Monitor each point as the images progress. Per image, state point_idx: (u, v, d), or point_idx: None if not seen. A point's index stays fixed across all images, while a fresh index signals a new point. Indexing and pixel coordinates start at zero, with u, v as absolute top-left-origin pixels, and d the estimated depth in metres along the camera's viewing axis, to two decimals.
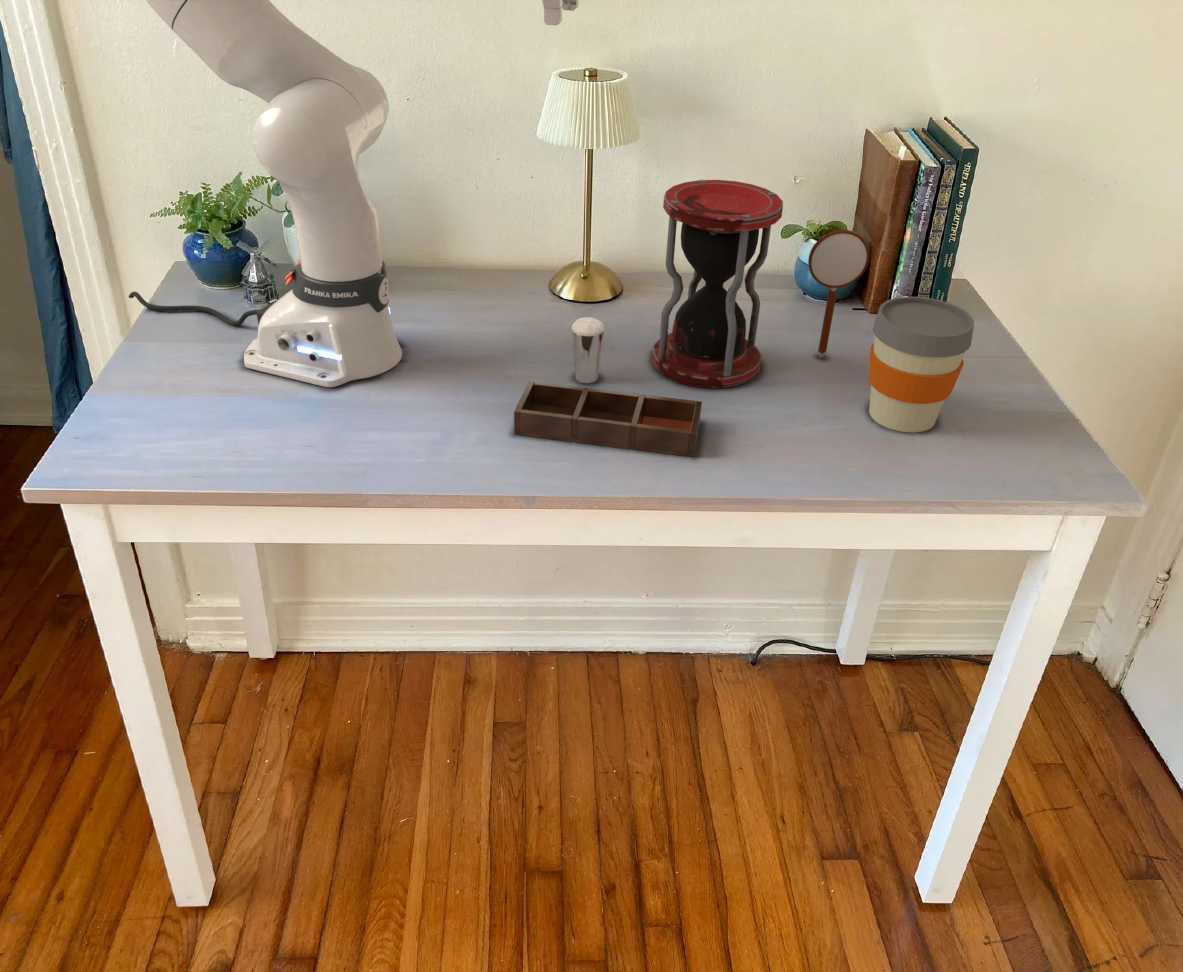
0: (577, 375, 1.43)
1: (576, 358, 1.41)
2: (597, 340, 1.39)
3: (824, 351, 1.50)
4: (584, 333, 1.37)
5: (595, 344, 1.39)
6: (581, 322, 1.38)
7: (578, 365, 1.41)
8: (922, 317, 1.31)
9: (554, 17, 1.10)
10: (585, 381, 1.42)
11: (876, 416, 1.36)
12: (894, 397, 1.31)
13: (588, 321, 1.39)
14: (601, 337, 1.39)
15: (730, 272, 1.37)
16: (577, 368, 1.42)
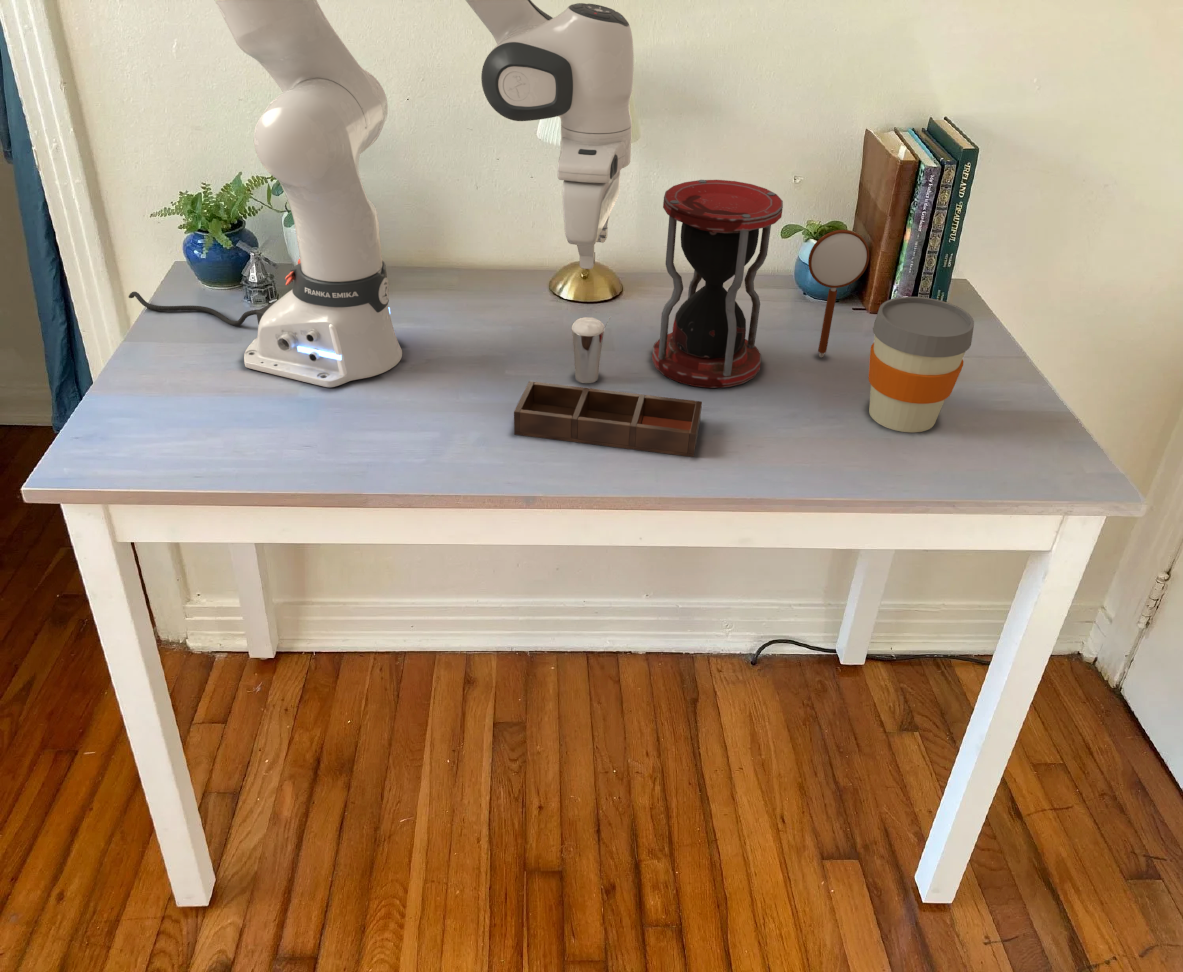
0: (577, 375, 1.43)
1: (576, 358, 1.41)
2: (597, 340, 1.39)
3: (824, 351, 1.50)
4: (584, 333, 1.37)
5: (595, 344, 1.39)
6: (581, 322, 1.38)
7: (578, 365, 1.41)
8: (922, 317, 1.31)
9: (589, 263, 1.28)
10: (585, 381, 1.42)
11: (876, 416, 1.36)
12: (894, 397, 1.31)
13: (588, 321, 1.39)
14: (601, 337, 1.39)
15: (730, 272, 1.37)
16: (577, 368, 1.42)
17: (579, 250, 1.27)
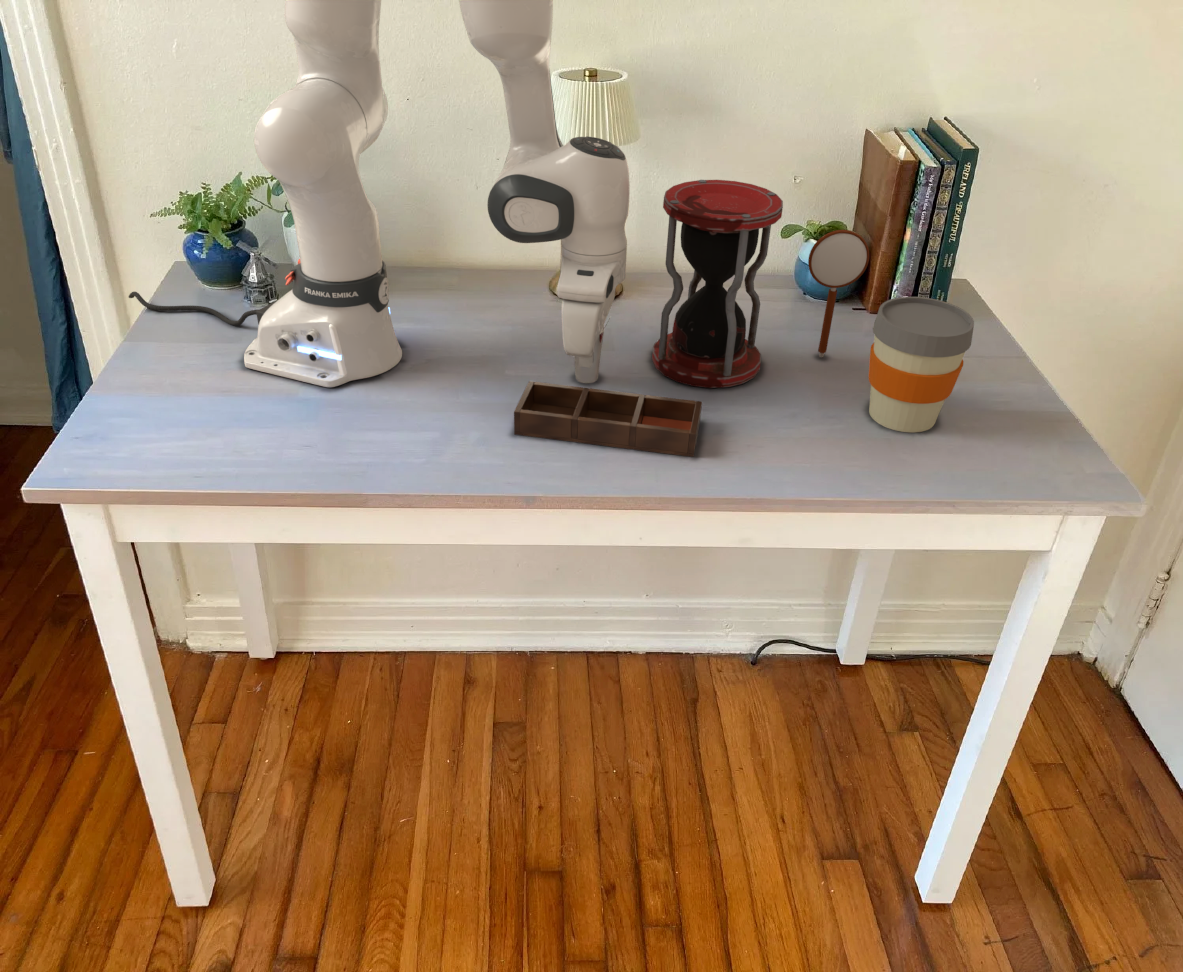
0: (577, 375, 1.43)
1: (576, 358, 1.41)
2: (597, 340, 1.39)
3: (824, 351, 1.50)
4: None
5: None
6: None
7: (578, 365, 1.41)
8: (922, 317, 1.31)
9: (588, 362, 1.39)
10: (585, 381, 1.42)
11: (876, 416, 1.36)
12: (894, 397, 1.31)
13: None
14: (601, 337, 1.39)
15: (730, 272, 1.37)
16: (577, 368, 1.42)
17: None
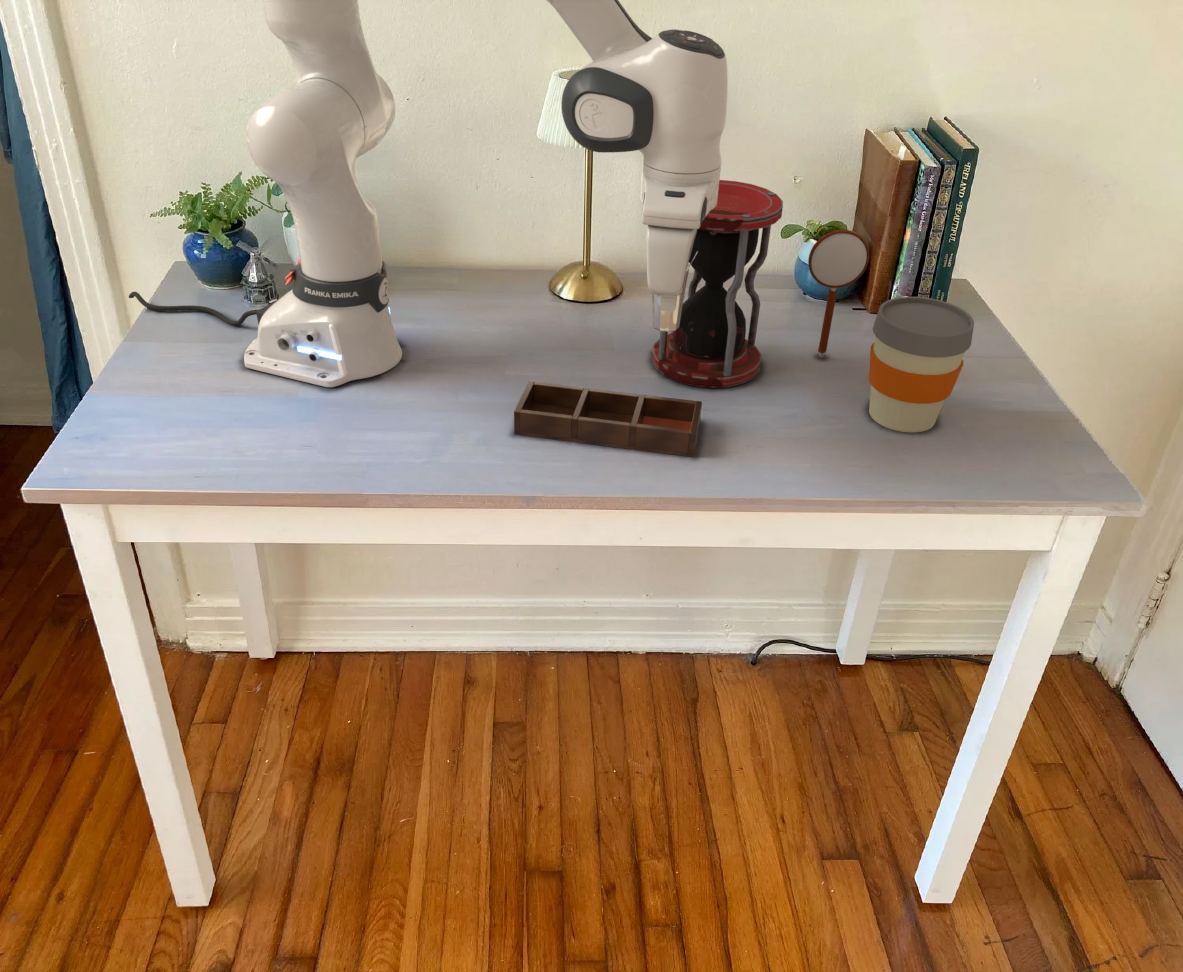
0: (656, 322, 1.23)
1: (655, 302, 1.21)
2: None
3: (824, 351, 1.50)
4: None
5: None
6: None
7: (658, 310, 1.21)
8: (922, 317, 1.31)
9: (670, 305, 1.19)
10: (665, 329, 1.22)
11: (876, 416, 1.36)
12: (894, 397, 1.31)
13: None
14: (686, 276, 1.19)
15: (730, 272, 1.37)
16: (656, 314, 1.22)
17: None
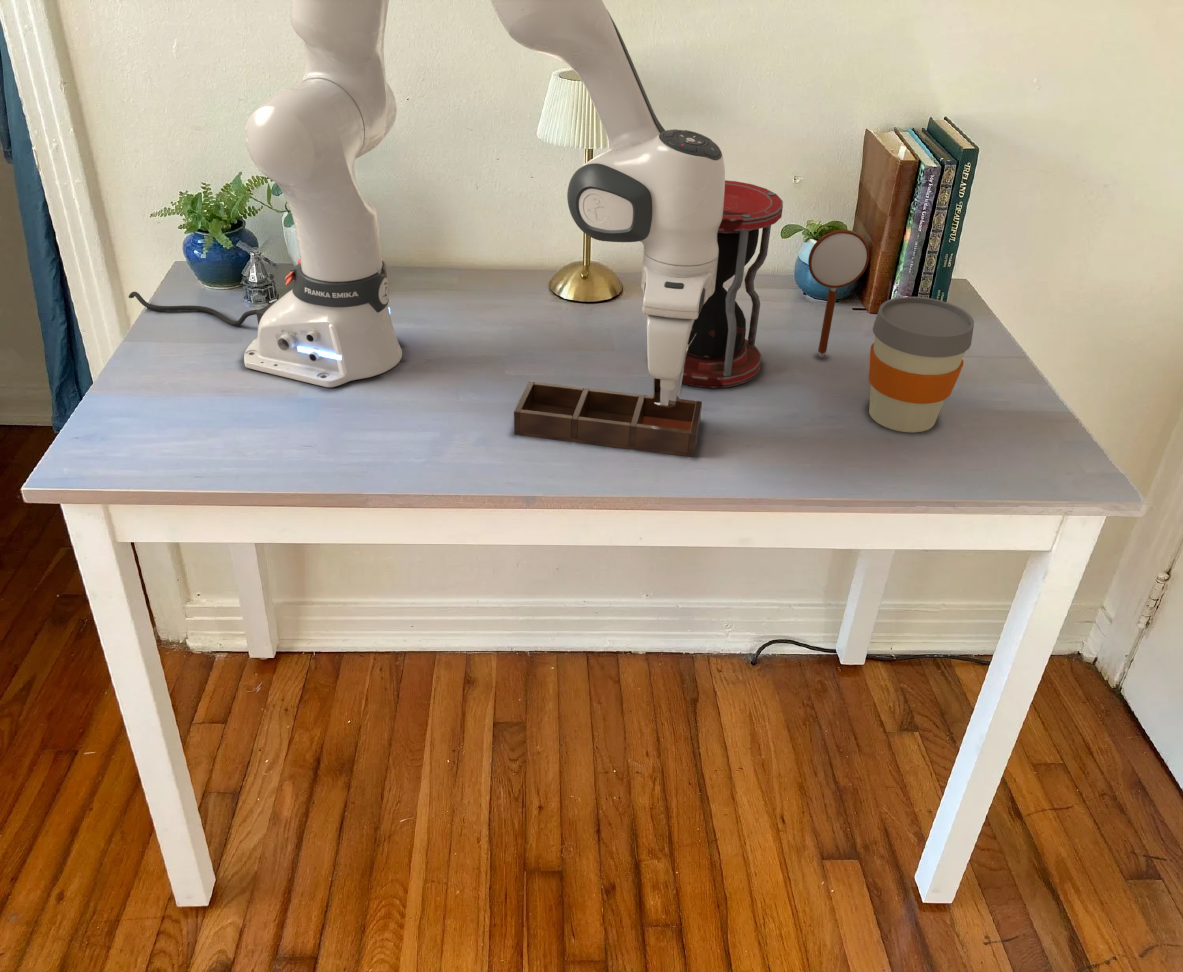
0: (656, 398, 1.27)
1: (656, 379, 1.26)
2: None
3: (824, 351, 1.50)
4: None
5: None
6: None
7: (658, 387, 1.26)
8: (922, 317, 1.31)
9: (670, 385, 1.23)
10: (665, 405, 1.27)
11: (876, 416, 1.36)
12: (894, 397, 1.31)
13: None
14: (685, 356, 1.24)
15: (730, 272, 1.37)
16: (656, 390, 1.27)
17: None
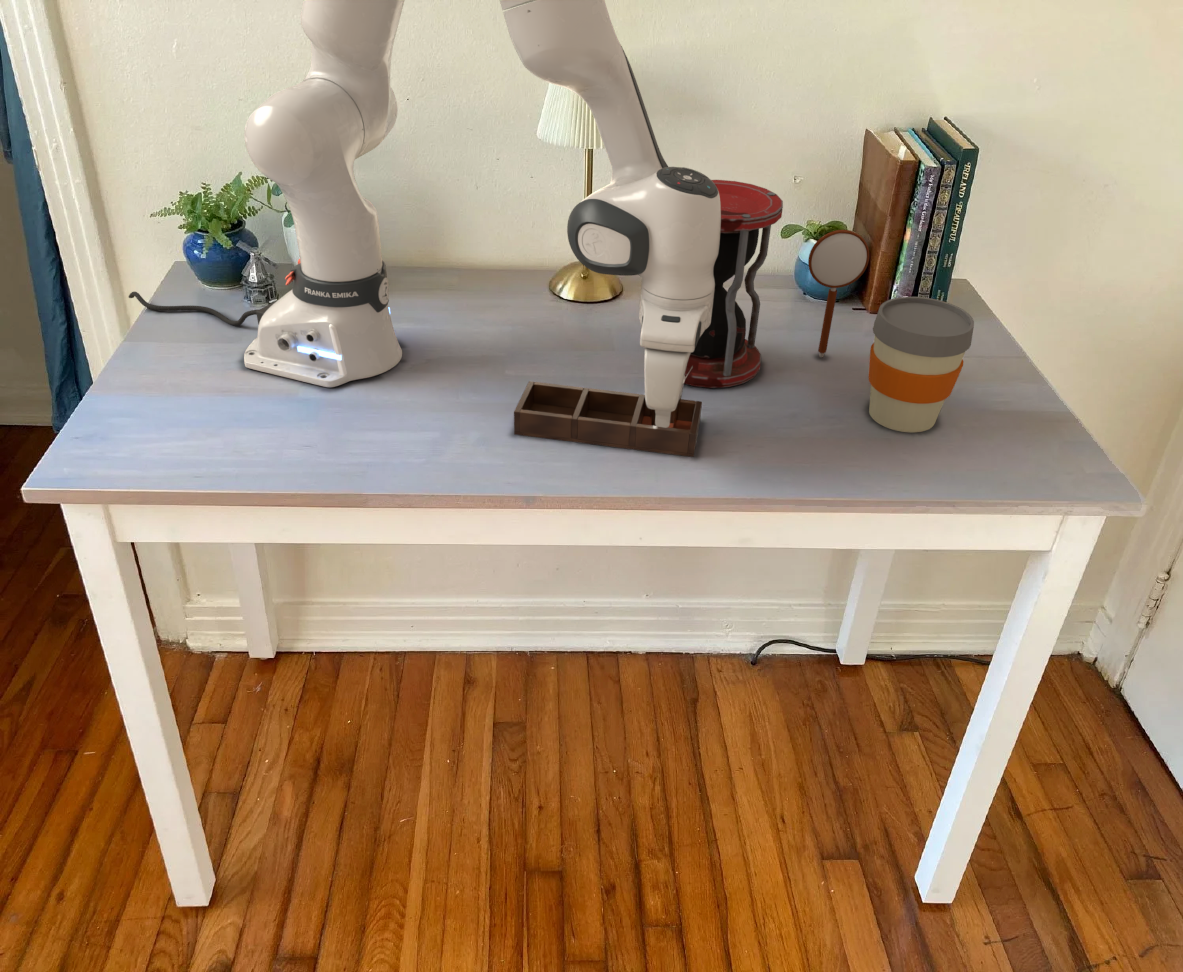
0: None
1: (653, 410, 1.28)
2: None
3: (824, 351, 1.50)
4: None
5: None
6: None
7: None
8: (922, 317, 1.31)
9: (665, 422, 1.24)
10: None
11: (876, 416, 1.36)
12: (894, 397, 1.31)
13: None
14: (682, 388, 1.26)
15: (730, 272, 1.37)
16: (654, 421, 1.29)
17: (656, 410, 1.23)
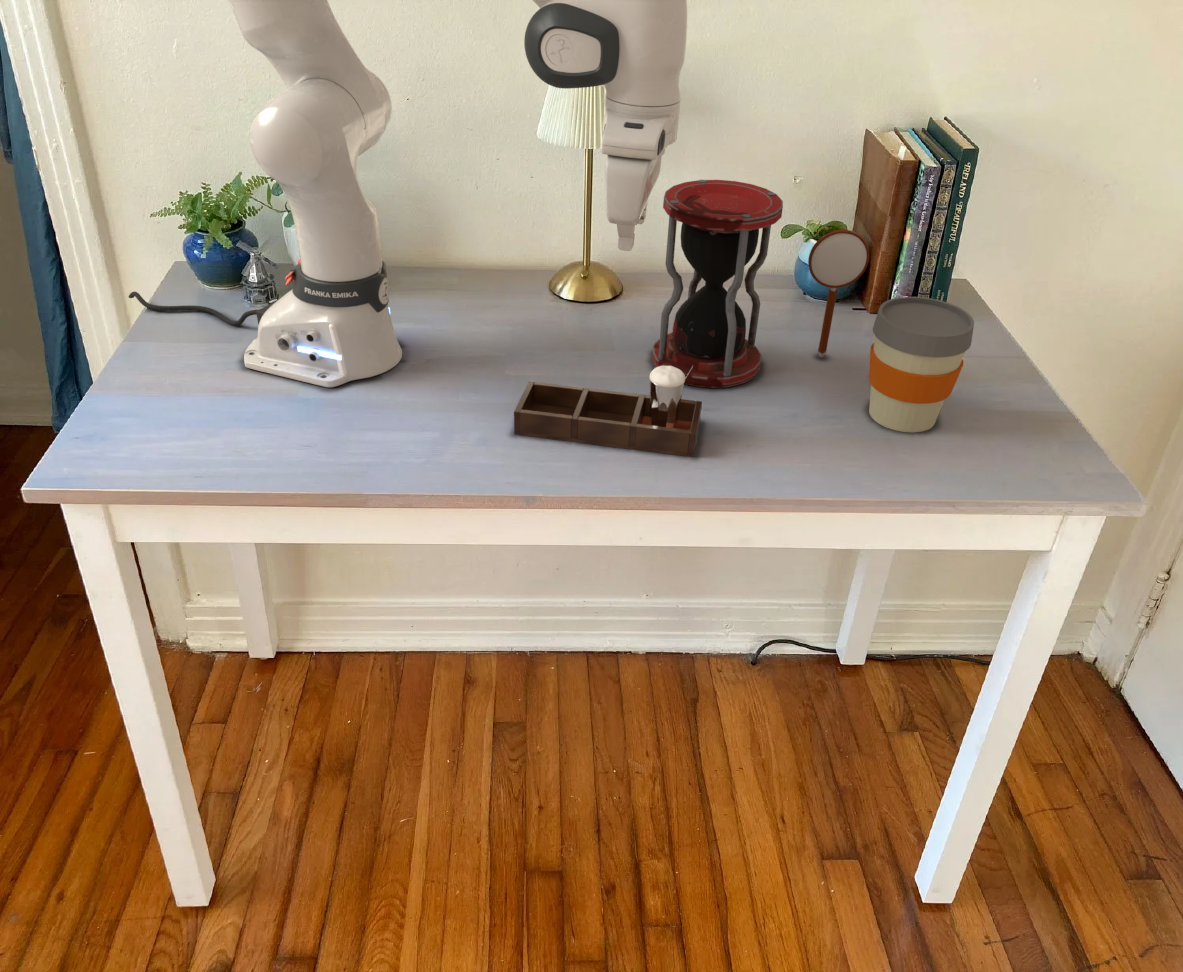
0: None
1: (653, 410, 1.28)
2: (678, 391, 1.26)
3: (824, 351, 1.50)
4: (664, 384, 1.25)
5: (675, 396, 1.26)
6: (660, 371, 1.26)
7: (655, 418, 1.29)
8: (922, 317, 1.31)
9: (628, 245, 1.21)
10: None
11: (876, 416, 1.36)
12: (894, 397, 1.31)
13: (668, 370, 1.26)
14: (682, 388, 1.26)
15: (730, 272, 1.37)
16: (654, 421, 1.29)
17: (619, 230, 1.20)
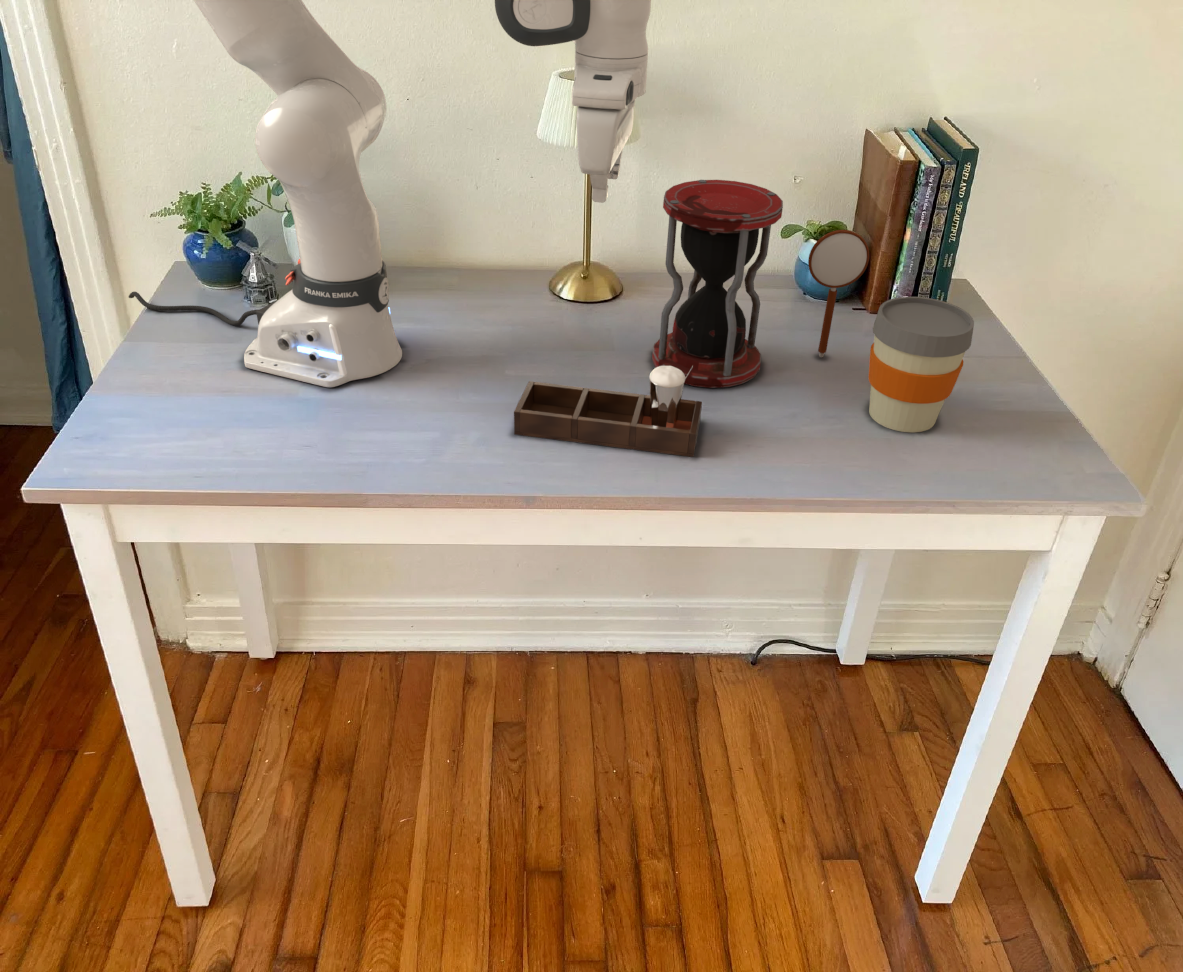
0: None
1: (653, 410, 1.28)
2: (678, 391, 1.26)
3: (824, 351, 1.50)
4: (664, 384, 1.25)
5: (675, 396, 1.26)
6: (660, 371, 1.26)
7: (655, 418, 1.29)
8: (922, 317, 1.31)
9: (601, 196, 1.25)
10: None
11: (876, 416, 1.36)
12: (894, 397, 1.31)
13: (668, 370, 1.26)
14: (682, 388, 1.26)
15: (730, 272, 1.37)
16: (654, 421, 1.29)
17: (592, 182, 1.23)
